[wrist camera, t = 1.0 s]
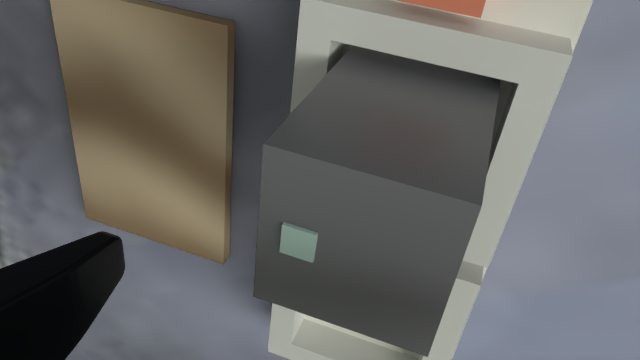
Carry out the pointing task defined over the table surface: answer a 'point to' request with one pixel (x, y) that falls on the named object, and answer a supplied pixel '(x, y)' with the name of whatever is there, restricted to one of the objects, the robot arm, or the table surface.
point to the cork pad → (151, 118)
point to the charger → (375, 195)
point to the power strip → (507, 140)
